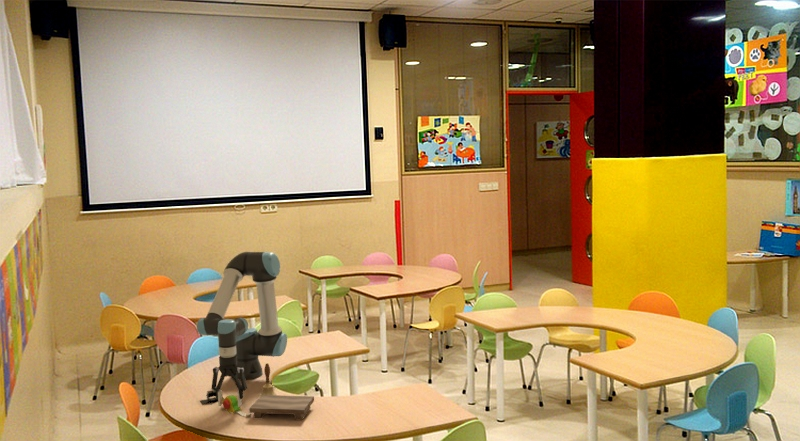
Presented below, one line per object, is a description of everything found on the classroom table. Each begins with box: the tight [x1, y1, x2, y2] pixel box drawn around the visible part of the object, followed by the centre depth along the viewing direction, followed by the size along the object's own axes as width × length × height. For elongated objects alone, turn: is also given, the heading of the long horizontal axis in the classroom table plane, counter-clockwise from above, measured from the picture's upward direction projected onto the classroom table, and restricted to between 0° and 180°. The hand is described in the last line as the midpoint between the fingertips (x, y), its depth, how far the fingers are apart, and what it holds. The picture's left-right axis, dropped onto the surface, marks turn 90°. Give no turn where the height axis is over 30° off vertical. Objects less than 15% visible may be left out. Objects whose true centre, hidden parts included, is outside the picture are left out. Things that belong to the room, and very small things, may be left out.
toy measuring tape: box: [222, 394, 253, 418], centre depth 313 cm, size 6×20×7 cm, turn 48°
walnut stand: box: [249, 394, 315, 421], centre depth 310 cm, size 16×24×5 cm, turn 82°
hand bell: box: [258, 363, 277, 398], centre depth 330 cm, size 8×8×16 cm
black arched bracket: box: [199, 389, 225, 406], centre depth 328 cm, size 13×8×5 cm, turn 117°
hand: (230, 405), depth 314 cm, fingers closed on toy measuring tape, 8 cm apart
